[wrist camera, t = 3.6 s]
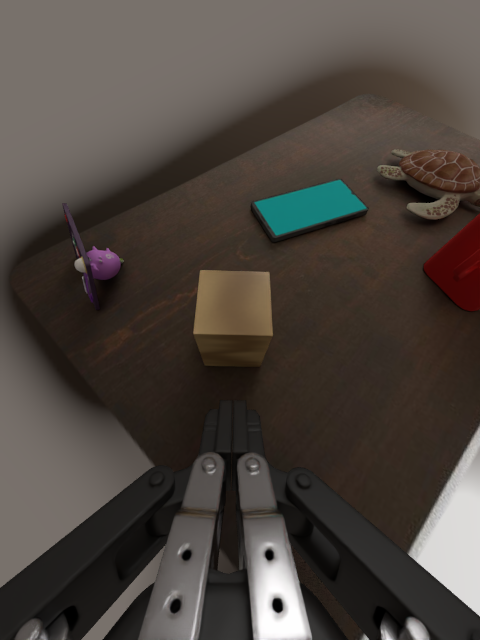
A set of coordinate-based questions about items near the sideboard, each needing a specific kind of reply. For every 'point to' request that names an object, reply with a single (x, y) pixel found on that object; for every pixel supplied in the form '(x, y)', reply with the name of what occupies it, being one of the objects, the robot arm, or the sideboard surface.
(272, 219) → the smartphone
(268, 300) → the beech block
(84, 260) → the purple figure in frame
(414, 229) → the sideboard surface
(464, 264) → the mug
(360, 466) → the sideboard surface
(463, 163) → the decorative turtle
